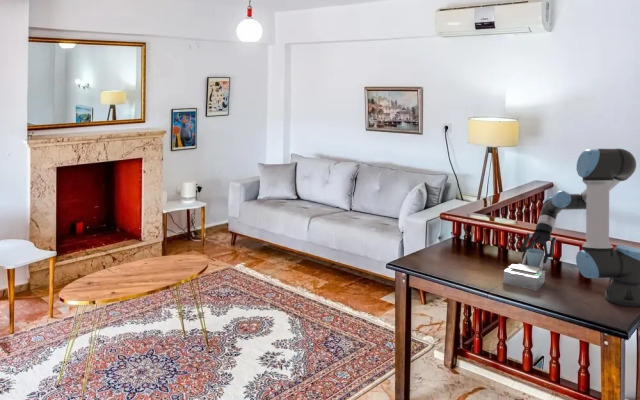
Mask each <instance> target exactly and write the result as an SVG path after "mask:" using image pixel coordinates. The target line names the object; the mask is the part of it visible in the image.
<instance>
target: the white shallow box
mask: <svg viewBox="0 0 640 400" xmlns="http://www.w3.org/2000/svg"><path fill="white" fill-rule="evenodd" d="M516 265H517V266H516V267H514V268H511V267H510V266H507V268H509V269H512V270H511V271H512V272H517V273H521V274H526V275H531V276H534V275H535V274H538V275H540V273H538V272H539V271H540V270H541V268H539V267H534V266H529V265H527V264H525V265H524V264H522V263H518V264H516ZM507 268H506V269H507Z"/></svg>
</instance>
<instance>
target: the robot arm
mask: <svg viewBox="0 0 640 400" xmlns="http://www.w3.org/2000/svg"><path fill="white" fill-rule="evenodd" d="M636 168H637V160H636V158H635V155H633V153H631V152H630V151H628V150H627V149H624V148H588V149H585V150H583V151H582V152H581V153H580V155H579V156H578V158H577V161H576V172H577V175H578V176H579V177H580V178H582V183H583V184H585V186H586V189H584V190H583V191H582V192H581V193H569V192H567V191H565V190H560V191H557V192H556V193H555V194H553V195H552V197H551V196H549V197H546V199H544V202H543V204H542V207H541V210H540V214H539V217H538V220H537V224H536V226H535V229H534V231H533V233H529V232H527V233H526V237H525V239H524V240H523V243H522V245H521V247H520V251H521V252H522V255H521V258H522V262H521V264H524V265H527V249H533V248H534V247H535V245H537V244H542V245H543V251H544V254H543V257H542V260H541V263H540V266H539V268H541V270H543V267H544V264H547V262H548V259H549V258H553V257H554V249H555V245H556V242H557V239H556V237H554V236H552V232H553V229H554V226H555V223H556V219H557V216H558V214H559V213H561V212H562V211H563V210H564V211H565V210H567V211H568V210H572V211H573V210H585V211H586V212H585V213H586V214H585V216H586V217H585V219H586V221H585V222H586V223H585V224H586V225H585V228H586V229H585V232H586V233H585V236H586V237H585V242H584V243H583V244H582V245H581V250H579V251H578V252H577V253H576V256H575V262H576V267H577V269H578V271H579V273H580V274H581V275H582V276H583V277H584V278H587V279H611V281H610V283H609V284H608V285H607V287H606V290H605V292H604V298H605V299H606V300H607V301H609V302H610V303H612V304H616V305H619V306H623V307H634V308H635V307H640V248H637V247H635V246H630V245H624V244H617V245H615V247H614V245H612V244H611V243H610V191H612V189H614V188H615V187H616V186H617V185H618V184H619V183H620V182H624V181H627V180H628V179H630V177H632V176H633V174H634V173H635V171H636ZM532 238H533V239H532ZM531 239H532V240H531ZM530 241H531V242H530ZM549 241H550V244H549V245H550V247H549V252H548V246H547V245H548V244H547V242H549ZM529 242H530V243H529Z"/></svg>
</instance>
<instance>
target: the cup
mask: <svg viewBox="0 0 640 400" xmlns="http://www.w3.org/2000/svg"><path fill="white" fill-rule="evenodd" d="M543 255H545V252H544V250H543V249H539V248H532V249H527V261H526V265H529V266H534V267H539V266H540V263H541V260H542V257H543Z"/></svg>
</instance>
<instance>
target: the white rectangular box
mask: <svg viewBox="0 0 640 400" xmlns="http://www.w3.org/2000/svg"><path fill="white" fill-rule="evenodd" d="M517 265H518V264H514V263H512V264H511V265H509V267H511V268H514V267H516V266H517ZM511 270H512V269H509V268H505V269H504V270H503V279H502V280H503V281H502V284H505V285H510V286H512V287H513V286H514V287H517V288H522V289H527V290H531V291H537V290H538V289H540V288H541V287H542V286H543V285H544V284H545V281H546V270H544V269H542V270H540V271H539V272H538V273H540V275H538V274H535V275H534V276H531V275H526V274H521V273H517V272H512V271H511Z"/></svg>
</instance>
